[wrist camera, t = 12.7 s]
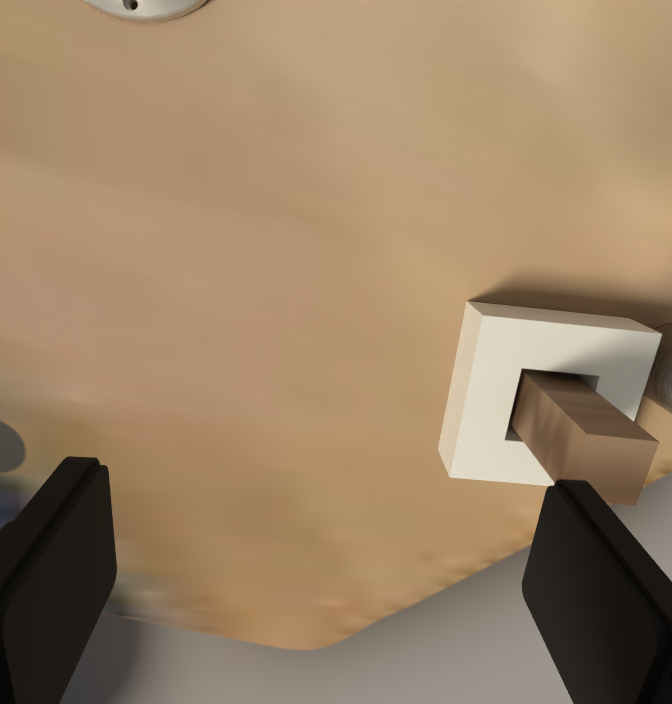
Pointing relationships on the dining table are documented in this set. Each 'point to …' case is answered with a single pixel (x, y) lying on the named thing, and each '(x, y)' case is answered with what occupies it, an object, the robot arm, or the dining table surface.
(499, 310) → the bore block
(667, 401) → the grey cylinder
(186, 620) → the dining table surface
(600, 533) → the robot arm
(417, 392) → the dining table surface
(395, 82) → the dining table surface
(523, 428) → the walnut peg
